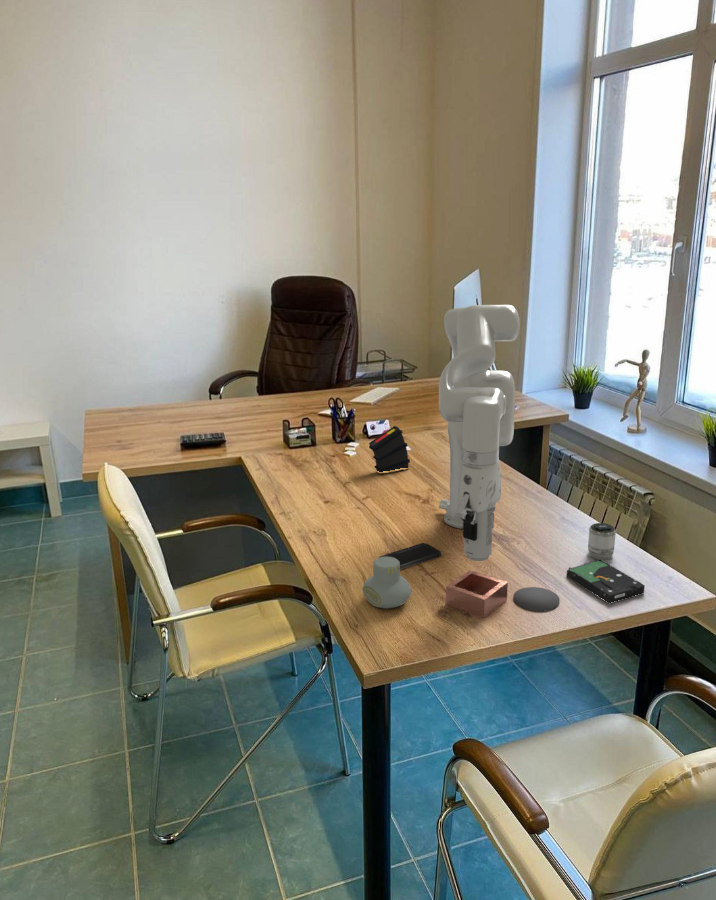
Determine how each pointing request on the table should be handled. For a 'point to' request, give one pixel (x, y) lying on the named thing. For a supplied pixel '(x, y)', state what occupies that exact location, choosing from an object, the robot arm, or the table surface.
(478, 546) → the energy drink can
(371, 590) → the air freshener
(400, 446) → the magazine
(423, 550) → the phone
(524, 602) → the mat
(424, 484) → the table surface
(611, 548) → the camera lens
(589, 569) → the disk drive
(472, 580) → the collar
